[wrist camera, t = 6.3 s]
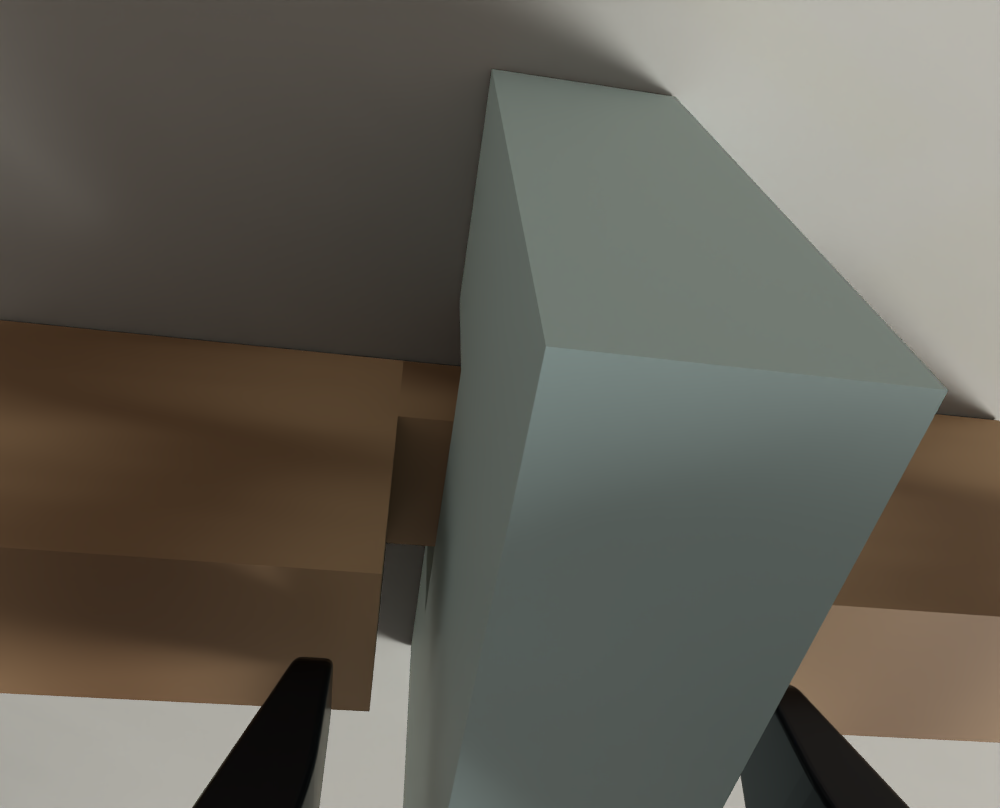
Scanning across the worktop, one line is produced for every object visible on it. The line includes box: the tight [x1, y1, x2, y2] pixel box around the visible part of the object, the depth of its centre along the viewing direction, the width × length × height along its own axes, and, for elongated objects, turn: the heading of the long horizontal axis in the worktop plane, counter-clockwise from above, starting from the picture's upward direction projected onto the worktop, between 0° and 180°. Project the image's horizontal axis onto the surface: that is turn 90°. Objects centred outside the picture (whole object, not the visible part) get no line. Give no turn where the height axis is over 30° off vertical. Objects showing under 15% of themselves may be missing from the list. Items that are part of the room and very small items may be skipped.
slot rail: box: [0, 320, 1000, 743], centre depth 12 cm, size 16×2×4 cm, turn 82°
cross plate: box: [403, 69, 948, 808], centre depth 11 cm, size 2×11×7 cm, turn 171°
